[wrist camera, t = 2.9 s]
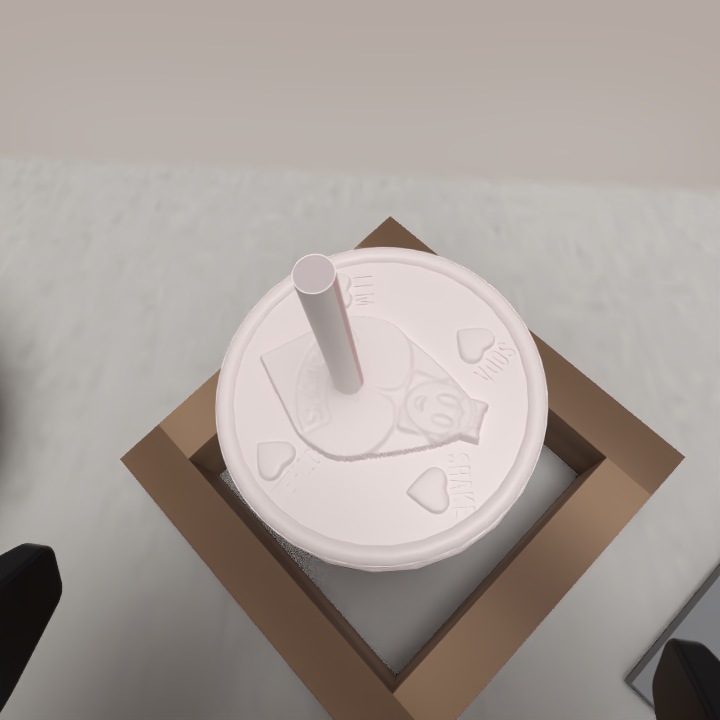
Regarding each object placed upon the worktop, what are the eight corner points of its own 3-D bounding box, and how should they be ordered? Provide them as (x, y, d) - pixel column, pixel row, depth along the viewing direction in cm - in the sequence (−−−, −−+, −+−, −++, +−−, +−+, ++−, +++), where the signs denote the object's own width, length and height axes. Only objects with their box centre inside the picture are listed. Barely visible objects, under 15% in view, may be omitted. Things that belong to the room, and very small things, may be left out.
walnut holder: (396, 758, 18) (392, 792, 15) (159, 475, 21) (120, 459, 18) (646, 474, 20) (684, 457, 17) (393, 260, 23) (390, 216, 20)
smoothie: (336, 363, 22) (219, 41, 9) (511, 414, 21) (676, 128, 8) (273, 538, 20) (3, 458, 7) (462, 604, 19) (569, 661, 6)
